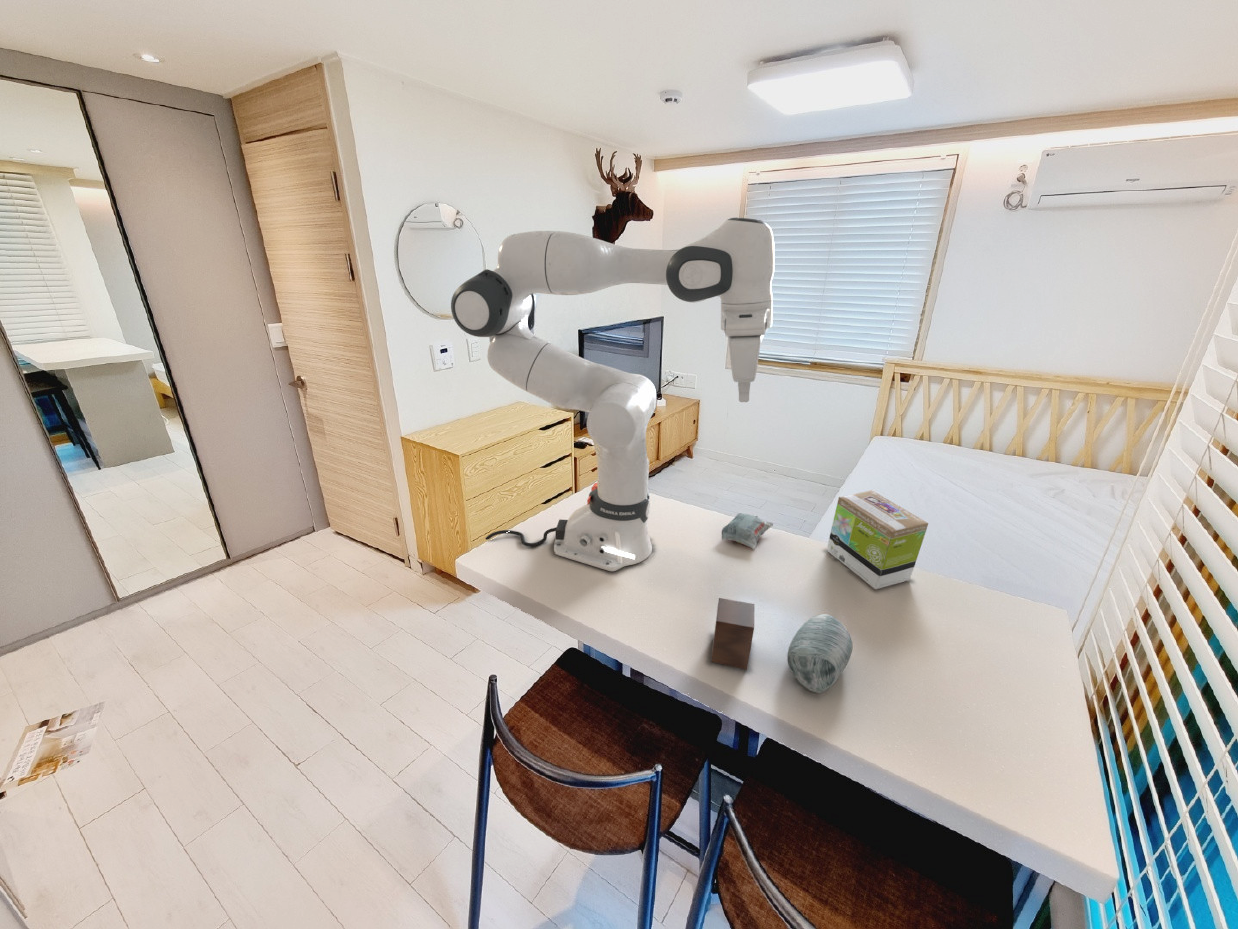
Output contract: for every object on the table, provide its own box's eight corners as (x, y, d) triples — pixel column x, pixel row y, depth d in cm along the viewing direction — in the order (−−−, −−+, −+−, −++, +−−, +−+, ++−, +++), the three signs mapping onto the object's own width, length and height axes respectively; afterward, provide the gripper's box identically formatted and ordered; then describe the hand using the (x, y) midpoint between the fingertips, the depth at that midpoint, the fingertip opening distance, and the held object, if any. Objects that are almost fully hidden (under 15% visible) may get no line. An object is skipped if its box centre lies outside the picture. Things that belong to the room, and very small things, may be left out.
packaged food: (771, 533, 123) (774, 515, 121) (753, 556, 114) (756, 537, 112) (737, 522, 127) (739, 505, 125) (718, 543, 118) (720, 525, 116)
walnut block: (711, 662, 85) (716, 621, 81) (713, 637, 90) (718, 597, 87) (747, 669, 84) (754, 628, 80) (747, 644, 89) (754, 603, 85)
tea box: (824, 551, 116) (837, 495, 110) (858, 543, 119) (872, 488, 113) (875, 591, 103) (893, 530, 97) (911, 581, 106) (931, 521, 100)
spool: (841, 703, 74) (828, 635, 75) (781, 694, 81) (769, 632, 81) (869, 670, 84) (857, 610, 85) (813, 664, 91) (803, 609, 91)
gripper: (730, 311, 99) (730, 380, 105) (724, 327, 81) (724, 410, 86) (763, 309, 97) (761, 379, 103) (765, 326, 79) (762, 410, 85)
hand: (744, 393), depth 95 cm, fingers open, 8 cm apart
